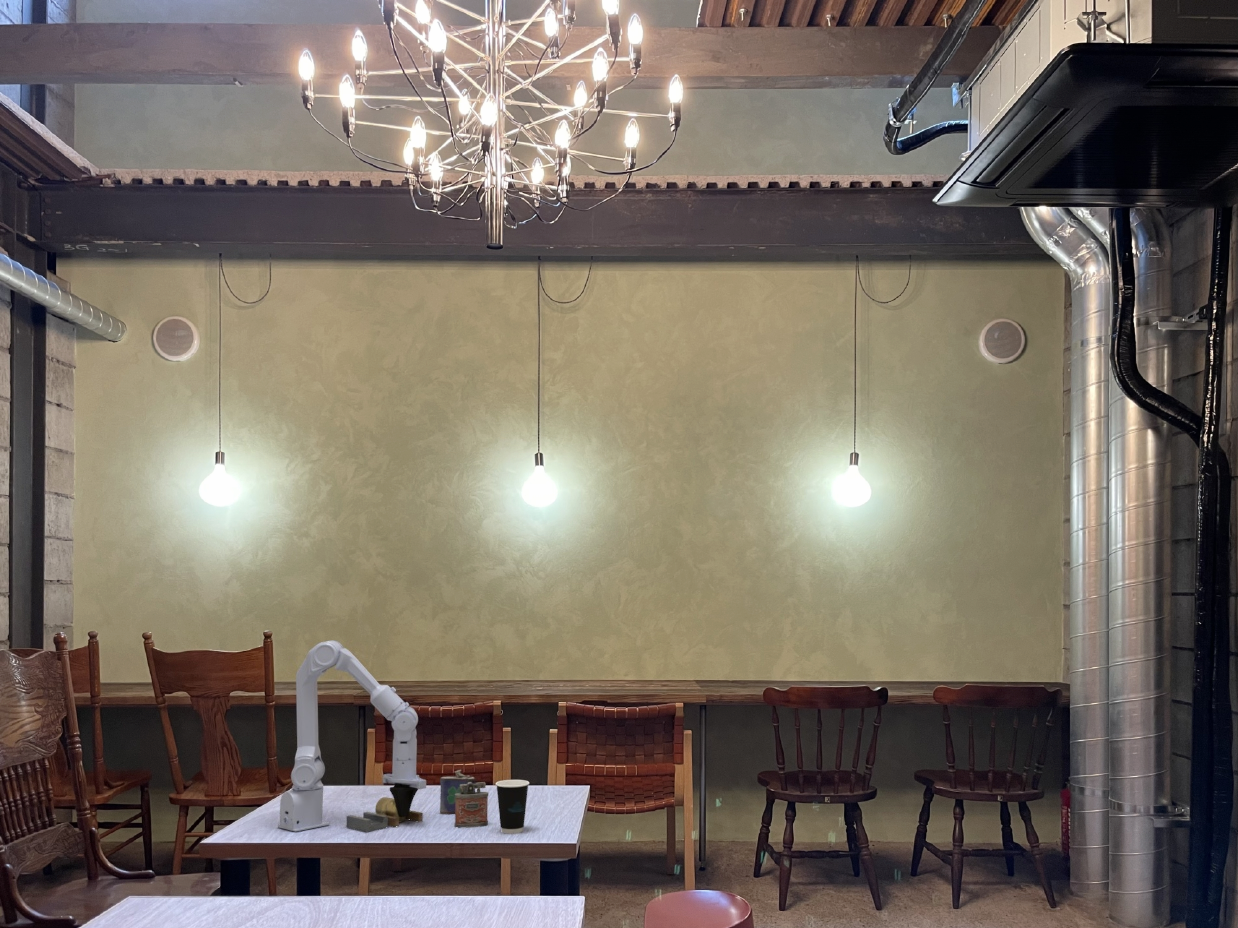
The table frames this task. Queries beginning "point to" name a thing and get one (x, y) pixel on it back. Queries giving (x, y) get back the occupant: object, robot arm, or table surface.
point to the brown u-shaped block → (412, 816)
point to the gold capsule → (388, 808)
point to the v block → (367, 822)
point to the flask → (452, 791)
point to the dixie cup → (512, 804)
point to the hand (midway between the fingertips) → (403, 816)
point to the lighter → (471, 806)
